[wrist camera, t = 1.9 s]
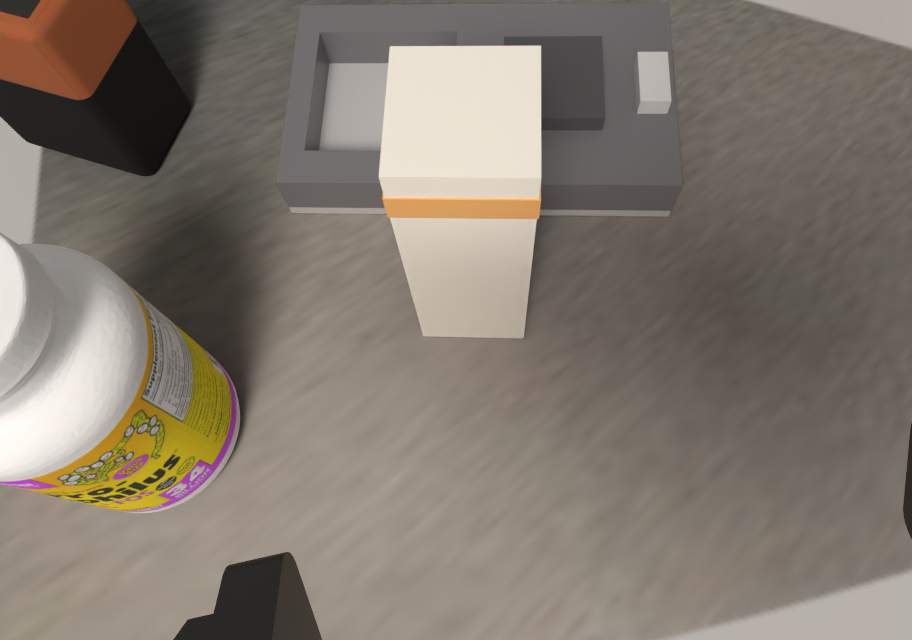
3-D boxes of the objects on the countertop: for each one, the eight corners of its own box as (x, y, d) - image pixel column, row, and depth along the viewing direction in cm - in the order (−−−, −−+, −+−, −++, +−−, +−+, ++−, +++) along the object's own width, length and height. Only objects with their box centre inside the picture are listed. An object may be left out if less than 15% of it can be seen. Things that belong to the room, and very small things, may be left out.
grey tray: (656, 43, 34) (672, -12, 31) (668, 216, 31) (688, 174, 27) (313, 44, 35) (296, -9, 32) (291, 213, 32) (269, 171, 28)
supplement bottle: (71, 526, 27) (-261, 473, 15) (83, 358, 30) (-198, 198, 18) (248, 504, 27) (54, 433, 15) (246, 337, 30) (75, 163, 18)
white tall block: (525, 246, 30) (542, 43, 19) (525, 339, 29) (543, 179, 18) (427, 245, 31) (387, 44, 19) (422, 337, 29) (376, 178, 18)
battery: (71, 70, 35) (-85, -121, 26) (197, 105, 34) (82, -82, 24) (24, 145, 34) (-159, -28, 24) (154, 183, 32) (15, 17, 23)
